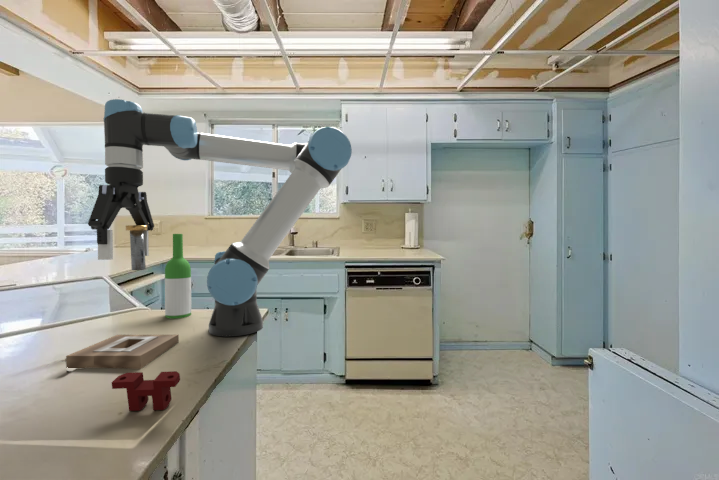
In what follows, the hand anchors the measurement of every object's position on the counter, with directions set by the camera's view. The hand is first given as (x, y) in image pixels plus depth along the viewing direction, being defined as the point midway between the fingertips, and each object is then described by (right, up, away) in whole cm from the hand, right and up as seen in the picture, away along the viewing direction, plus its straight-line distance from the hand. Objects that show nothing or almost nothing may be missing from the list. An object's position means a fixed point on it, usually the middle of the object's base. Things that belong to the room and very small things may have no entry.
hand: (125, 257), depth 83 cm
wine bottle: (-4, -24, +33) cm, 41 cm away
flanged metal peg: (0, -3, +5) cm, 6 cm away
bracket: (+15, -22, -24) cm, 36 cm away
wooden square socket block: (+1, -24, 0) cm, 24 cm away
